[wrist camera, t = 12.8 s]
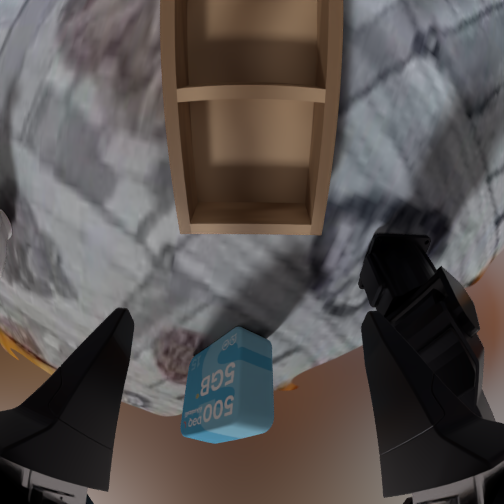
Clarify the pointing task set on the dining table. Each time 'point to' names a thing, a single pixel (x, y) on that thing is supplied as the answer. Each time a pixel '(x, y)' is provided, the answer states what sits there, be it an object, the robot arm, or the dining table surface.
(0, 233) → the teapot
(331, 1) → the rack
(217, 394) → the data package
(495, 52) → the dining table surface
